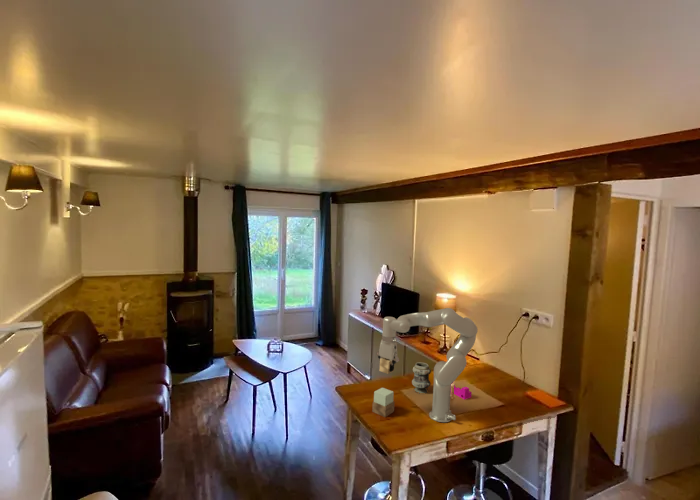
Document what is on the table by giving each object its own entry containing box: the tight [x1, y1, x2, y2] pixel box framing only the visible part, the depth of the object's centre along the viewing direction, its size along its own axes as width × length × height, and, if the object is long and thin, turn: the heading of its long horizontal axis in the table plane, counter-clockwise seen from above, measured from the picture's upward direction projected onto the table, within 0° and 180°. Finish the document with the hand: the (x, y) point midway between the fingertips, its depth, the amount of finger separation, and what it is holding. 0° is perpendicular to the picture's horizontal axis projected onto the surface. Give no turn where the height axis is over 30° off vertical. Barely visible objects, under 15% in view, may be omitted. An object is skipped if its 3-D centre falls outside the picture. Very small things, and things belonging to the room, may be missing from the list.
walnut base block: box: [371, 401, 395, 418], centre depth 215 cm, size 9×9×6 cm
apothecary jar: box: [411, 362, 432, 394], centre depth 244 cm, size 12×12×18 cm
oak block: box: [379, 358, 396, 375], centre depth 214 cm, size 6×6×7 cm
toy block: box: [454, 384, 472, 401], centre depth 241 cm, size 15×6×8 cm, turn 33°
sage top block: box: [373, 387, 395, 406], centre depth 215 cm, size 8×8×6 cm
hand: (386, 369), depth 214 cm, fingers closed on oak block, 6 cm apart
